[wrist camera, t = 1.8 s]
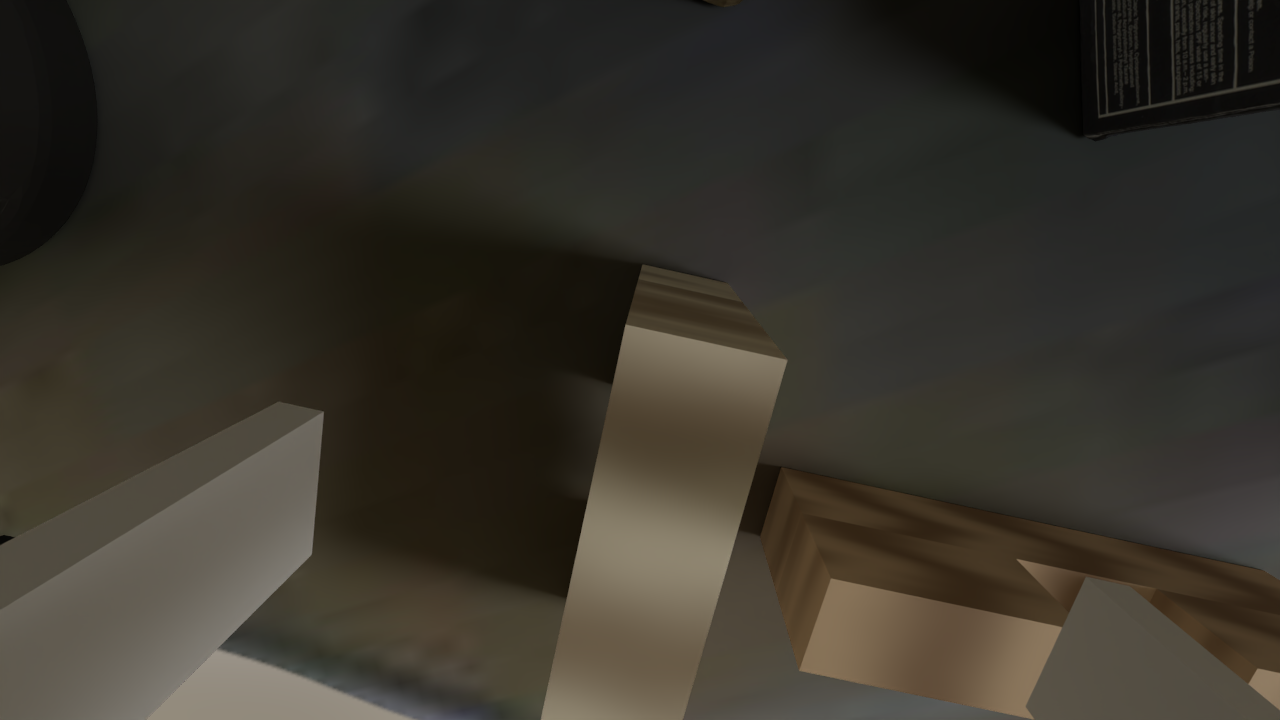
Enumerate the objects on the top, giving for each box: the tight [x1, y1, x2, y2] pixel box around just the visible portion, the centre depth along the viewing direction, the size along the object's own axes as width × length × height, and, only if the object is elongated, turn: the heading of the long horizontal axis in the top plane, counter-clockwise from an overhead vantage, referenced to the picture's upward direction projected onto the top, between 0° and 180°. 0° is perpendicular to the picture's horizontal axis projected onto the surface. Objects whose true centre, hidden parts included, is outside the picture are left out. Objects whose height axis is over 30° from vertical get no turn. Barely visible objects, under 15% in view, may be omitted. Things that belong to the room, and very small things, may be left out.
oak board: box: [760, 467, 1280, 719], centre depth 23 cm, size 22×4×8 cm, turn 78°
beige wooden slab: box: [541, 264, 787, 720], centre depth 21 cm, size 16×4×12 cm, turn 168°
